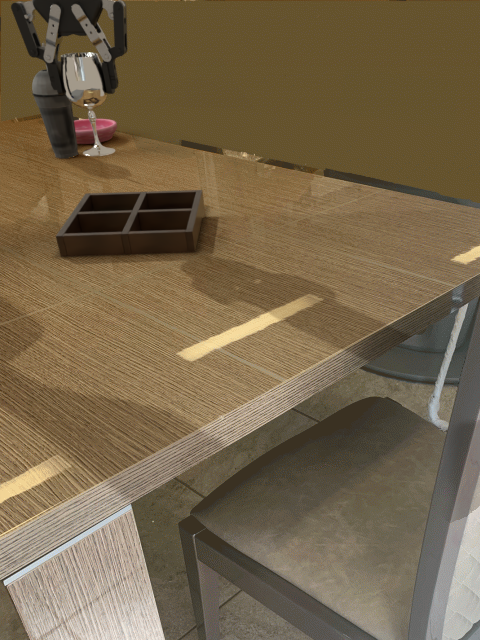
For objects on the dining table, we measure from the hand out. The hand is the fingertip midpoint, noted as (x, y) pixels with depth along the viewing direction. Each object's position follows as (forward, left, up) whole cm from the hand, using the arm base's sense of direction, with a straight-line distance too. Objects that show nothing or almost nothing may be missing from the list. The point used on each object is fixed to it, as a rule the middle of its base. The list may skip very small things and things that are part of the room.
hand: (87, 92), depth 86 cm
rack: (+4, -4, -19) cm, 20 cm away
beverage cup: (-18, +44, -19) cm, 51 cm away
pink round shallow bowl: (-16, +57, -19) cm, 62 cm away
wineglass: (0, 0, -8) cm, 8 cm away
